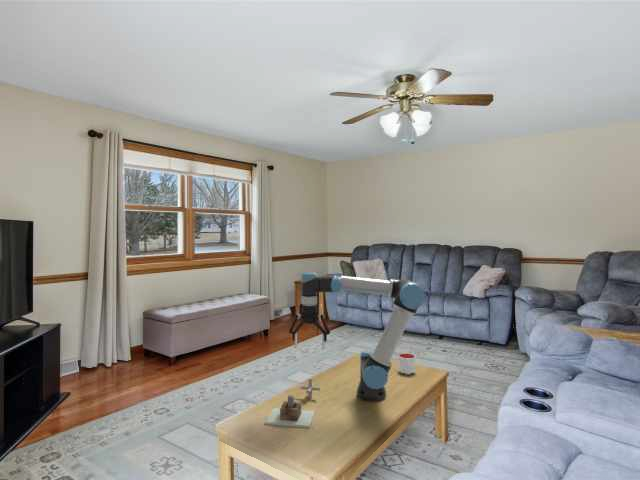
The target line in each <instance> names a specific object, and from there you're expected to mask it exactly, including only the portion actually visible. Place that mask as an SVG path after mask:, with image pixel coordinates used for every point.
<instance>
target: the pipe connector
mask: <svg viewBox="0 0 640 480" xmlns="http://www.w3.org/2000/svg"><path fill="white" fill-rule="evenodd" d="M300 390H306V392H305V393H306V394H307V395H308V399H313V391H318V392H320V391H321V387H320V386H315V383H314V382H313V377H308V385H302V384H301V385H300Z"/></svg>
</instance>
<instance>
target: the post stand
mask: <svg viewBox="0 0 640 480" xmlns="http://www.w3.org/2000/svg"><path fill="white" fill-rule="evenodd" d="M287 401H288V408H294V402H295V396H294V395H291V394H290V395H288V396H287ZM280 408H281V407H278V408H277V407H273V408H272V410H271V411H270V413H269V415H268V417H267V418H266V420H265V421H264V424H265V425H268V426H269V425H270V426H280V427H292V428H305V429H307V428H308V429H311V425H312V423H313V420H314V418H315V414H316V411H315V410H305V409H301V415H300V417H299V419H298V421H287V420H280Z"/></svg>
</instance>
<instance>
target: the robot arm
mask: <svg viewBox="0 0 640 480" xmlns="http://www.w3.org/2000/svg"><path fill="white" fill-rule="evenodd" d="M342 291H348V292H355V293H362V294H363V293H364V294H372V295H379V296H387V297H388V298H390V299H391V298H392V299H394V301H393V302H392V304H393V310H392V312H391V314H390V317H389V318H388V320H387V322H386V325H385V328H384V329H383V332H382V334H381V336H380V339H379V341H378V343H377V345H376V347H375V349H374V350H373V349H367V350H361V352H360V356H359V358H360V369H359V370H360V372H359V373H360V375H359V377H360V380H359V383H358V387H357V388H356V396H357V397H358V399H361V400H364V401H367V402H380V401H383V400H385V399H386V398H387V390H386V387H385V386H386V384H387V383H388V379H389V372H390V370H391V369H392V368H391V367H392V366H393V365H392V362H391V361H392V358H393V356H394V353H395V351H396V349H397V347H398V345H399V342H400V340H401V338H402V336H403V334H404V331H406V327H407V325H408V323H409V320H410V319H411V316H413V315H416V313H417V311H418V309H419V308H420V307H421V306H422V305H423V304H424V302H425V299H426V293H425V290H424V289H423V287H422V286H421V285H420V284H418V283H417V282H415V281H413V280H411V279H394V278H391V279H389V280H385V279H376V278H367V277H366V278H365V277H357V276H349V275H340V274H333V273H328V274H325V276H318V274H317V273H316V272H304V273H302V274H301V314H299V313H296V314H295V316H294V320H293V322H292V324H291V326H290V328H289V331H288V333H289V334H291V335H292V341H293V342H294V348H295V349H297V348H298V333H297V332H298V331H299V330H300V328H301V327H302V326H303V325H304V324H307V325H308V324H310V325H313V324H314V325H315V326H316V327H317V328H318V329H319V331H320V332H321V333H322V335H321V337H322V338H321V340H322V341H321V343H322V344H321V345H322V346H321V349H322V350H325V348H326V347H325V345H326V344H325V343H326V342H327V341H328V340H327V337H328V335H330V334H331V329H330V328H329V326H328V324H327V322H326V320H325V315H324V313H322V314H318V305H317V304H318V293H333V294H334V293H341V292H342ZM300 318H301V320H302V321H301V322H300V323H299V324H298V325H297V322H298V320H299V319H300ZM318 318H319V320H320V322H321V323H322V324H323V325H321V324H320V322H319V321H318ZM296 325H297V327H296V328H295V326H296ZM294 328H295V329H294Z"/></svg>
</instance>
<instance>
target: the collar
mask: <svg viewBox="0 0 640 480" xmlns="http://www.w3.org/2000/svg"><path fill="white" fill-rule="evenodd" d="M279 408H280V420H287V421H298V419H299V417H300V415H301V410H302V402H301V401H294V408H288V400H287V401H286V400H285V401H283V403H282V405H281V407H279Z"/></svg>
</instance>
